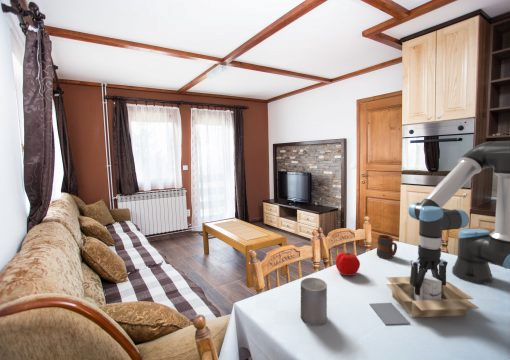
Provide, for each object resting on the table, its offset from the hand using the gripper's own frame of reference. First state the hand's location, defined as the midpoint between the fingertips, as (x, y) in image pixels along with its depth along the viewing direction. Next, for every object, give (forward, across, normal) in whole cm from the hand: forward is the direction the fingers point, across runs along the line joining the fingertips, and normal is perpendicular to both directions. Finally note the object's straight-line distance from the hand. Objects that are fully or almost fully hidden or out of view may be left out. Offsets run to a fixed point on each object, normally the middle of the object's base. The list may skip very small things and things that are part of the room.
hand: (426, 301), depth 108 cm
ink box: (+2, 0, 0) cm, 2 cm away
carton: (+1, 0, 0) cm, 1 cm away
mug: (+2, -9, -48) cm, 49 cm away
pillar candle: (+2, +47, +5) cm, 47 cm away
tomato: (+2, +21, -30) cm, 37 cm away
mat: (+1, +18, +4) cm, 19 cm away
